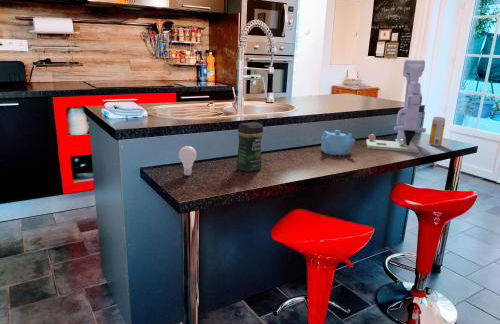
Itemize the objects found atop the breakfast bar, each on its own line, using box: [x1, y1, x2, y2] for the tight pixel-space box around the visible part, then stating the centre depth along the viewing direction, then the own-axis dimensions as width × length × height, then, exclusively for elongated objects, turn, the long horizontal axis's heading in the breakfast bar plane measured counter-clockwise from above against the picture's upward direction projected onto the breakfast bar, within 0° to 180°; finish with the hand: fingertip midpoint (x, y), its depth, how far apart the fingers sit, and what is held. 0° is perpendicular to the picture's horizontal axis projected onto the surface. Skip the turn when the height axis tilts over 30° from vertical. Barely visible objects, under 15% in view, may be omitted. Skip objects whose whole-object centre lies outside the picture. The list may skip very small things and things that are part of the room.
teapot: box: [320, 129, 356, 157], centre depth 182 cm, size 15×15×11 cm
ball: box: [368, 133, 376, 141], centre depth 206 cm, size 4×4×4 cm
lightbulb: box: [178, 145, 198, 177], centre depth 139 cm, size 6×6×11 cm
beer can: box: [428, 116, 446, 147], centre depth 207 cm, size 6×6×15 cm
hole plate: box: [365, 138, 419, 154], centre depth 200 cm, size 16×24×2 cm, turn 76°
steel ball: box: [399, 139, 406, 146], centre depth 196 cm, size 4×4×4 cm
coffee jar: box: [235, 121, 264, 173], centre depth 149 cm, size 10×8×19 cm
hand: (407, 145), depth 196 cm, fingers closed
